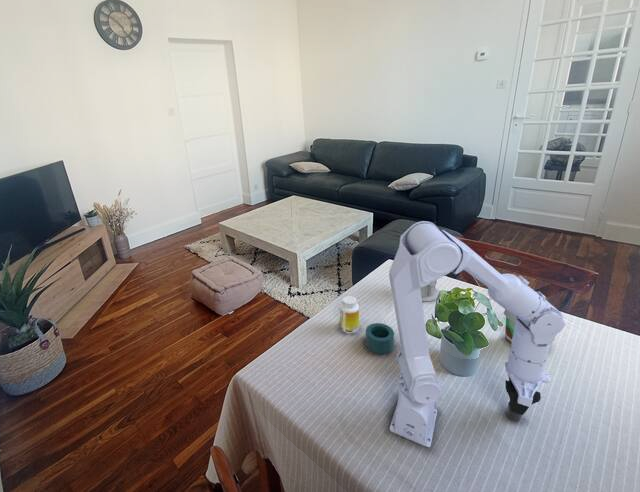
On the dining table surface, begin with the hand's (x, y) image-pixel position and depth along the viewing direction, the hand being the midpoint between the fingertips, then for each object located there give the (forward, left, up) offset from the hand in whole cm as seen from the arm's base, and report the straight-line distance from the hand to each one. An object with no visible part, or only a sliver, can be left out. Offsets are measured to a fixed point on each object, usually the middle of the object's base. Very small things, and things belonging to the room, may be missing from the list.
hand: (516, 404), depth 70 cm
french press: (+39, +25, +9) cm, 47 cm away
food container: (+25, -4, -4) cm, 26 cm away
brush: (0, 0, -3) cm, 3 cm away
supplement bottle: (+12, +41, -4) cm, 43 cm away
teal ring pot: (+9, +31, -3) cm, 32 cm away
